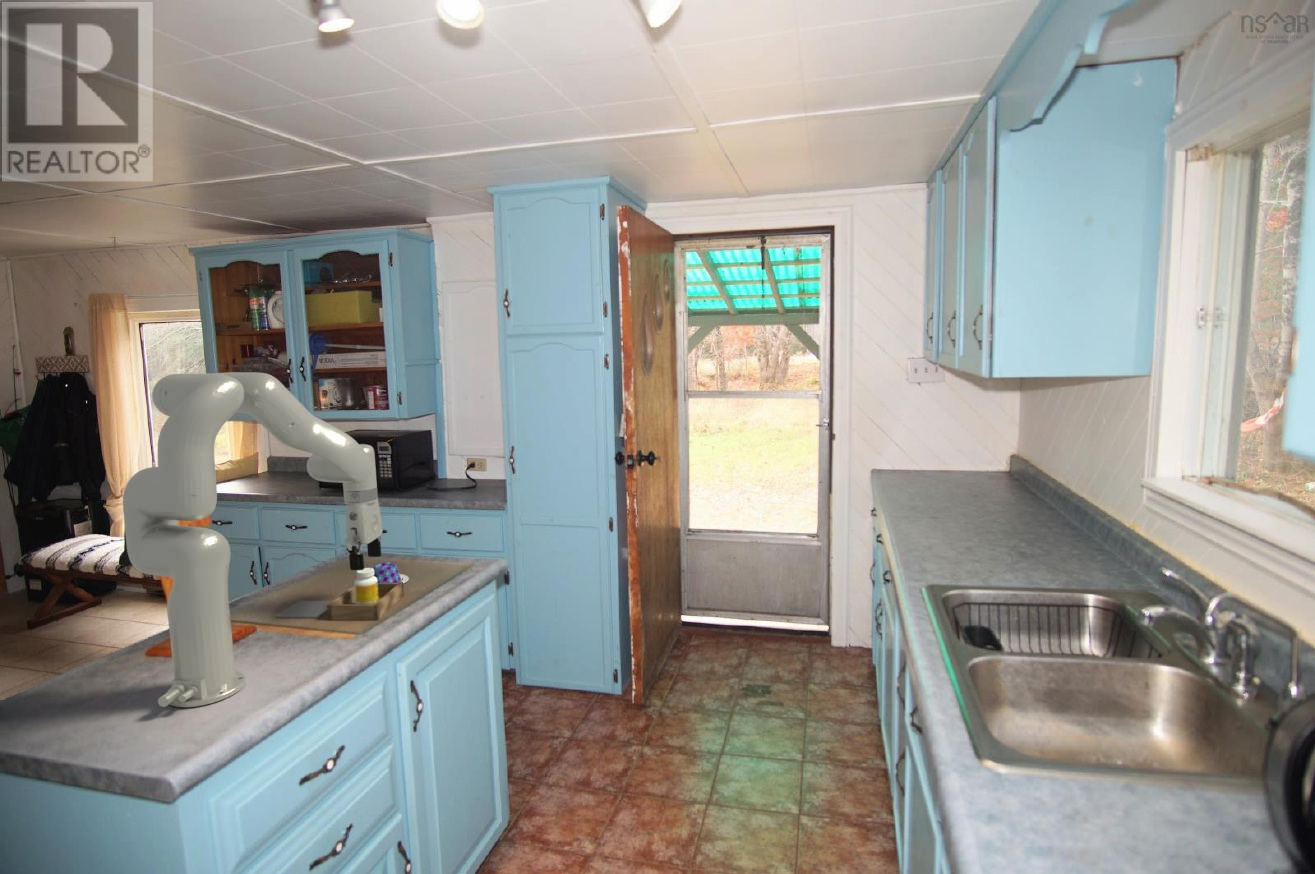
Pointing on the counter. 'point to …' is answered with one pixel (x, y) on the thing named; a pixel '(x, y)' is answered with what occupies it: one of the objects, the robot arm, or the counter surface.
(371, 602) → the supplement bottle
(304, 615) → the rubber mat
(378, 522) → the robot arm
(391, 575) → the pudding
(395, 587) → the walnut box
